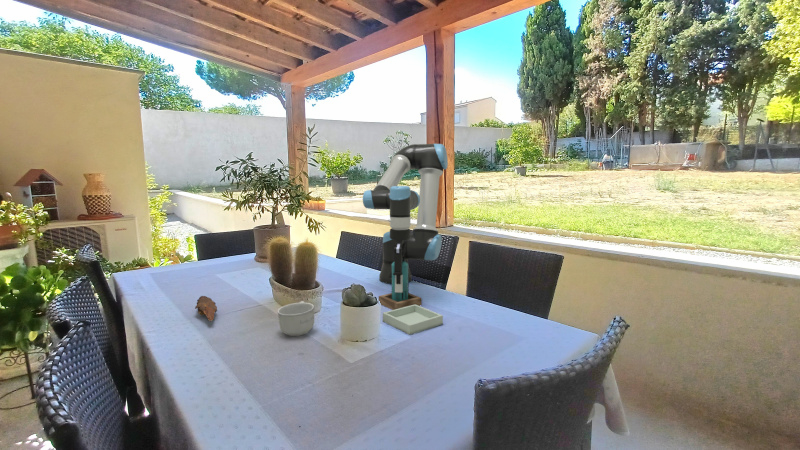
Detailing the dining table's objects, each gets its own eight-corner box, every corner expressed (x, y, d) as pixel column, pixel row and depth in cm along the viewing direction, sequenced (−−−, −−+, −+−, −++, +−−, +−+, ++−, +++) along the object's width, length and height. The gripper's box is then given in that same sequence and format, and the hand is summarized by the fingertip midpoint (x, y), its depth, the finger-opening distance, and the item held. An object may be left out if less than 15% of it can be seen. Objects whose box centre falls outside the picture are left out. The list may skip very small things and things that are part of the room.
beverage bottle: (401, 308, 140) (401, 254, 137) (387, 305, 144) (387, 252, 141) (412, 304, 145) (412, 252, 142) (398, 300, 149) (398, 250, 146)
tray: (415, 312, 136) (415, 304, 136) (442, 324, 125) (442, 315, 125) (382, 321, 127) (382, 312, 127) (409, 335, 116) (409, 325, 116)
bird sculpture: (202, 330, 120) (201, 314, 119) (190, 308, 140) (189, 295, 139) (225, 325, 124) (224, 310, 123) (210, 304, 144) (209, 291, 143)
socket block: (402, 297, 152) (402, 290, 152) (421, 305, 143) (421, 297, 143) (378, 303, 145) (378, 296, 145) (397, 312, 136) (397, 303, 136)
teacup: (305, 341, 112) (304, 314, 111) (271, 338, 114) (270, 312, 113) (324, 323, 126) (323, 299, 125) (293, 321, 128) (292, 297, 127)
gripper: (393, 224, 151) (393, 282, 154) (385, 231, 132) (385, 296, 134) (412, 225, 150) (412, 282, 153) (407, 232, 131) (407, 297, 134)
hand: (399, 289), depth 144 cm, fingers closed on beverage bottle, 6 cm apart
